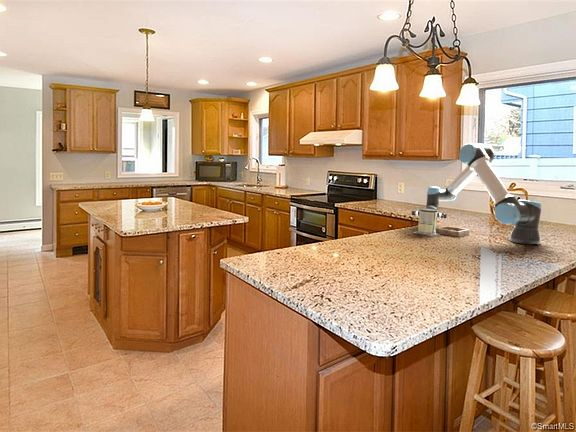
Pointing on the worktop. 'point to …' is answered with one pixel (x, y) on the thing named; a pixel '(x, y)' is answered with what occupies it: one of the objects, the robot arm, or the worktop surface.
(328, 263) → the worktop surface
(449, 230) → the wooden tray
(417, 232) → the rubber mat
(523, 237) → the robot arm
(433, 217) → the coffee can
